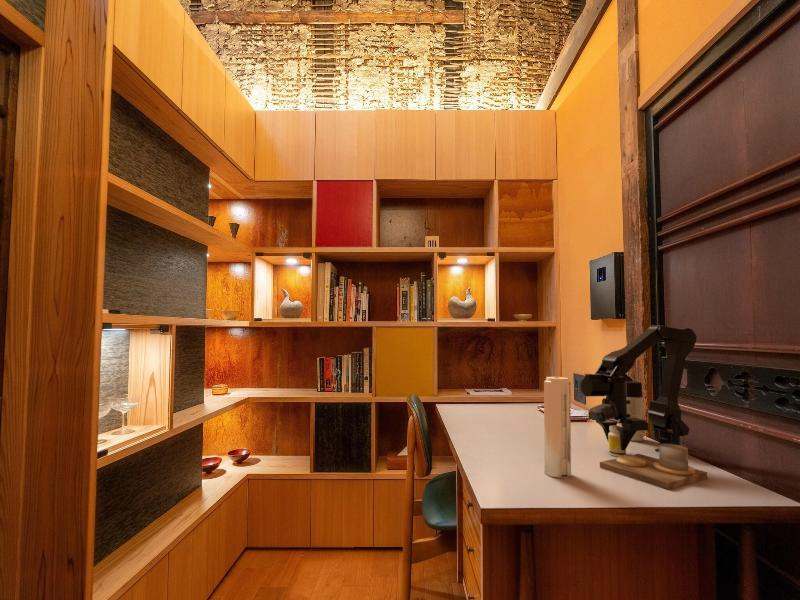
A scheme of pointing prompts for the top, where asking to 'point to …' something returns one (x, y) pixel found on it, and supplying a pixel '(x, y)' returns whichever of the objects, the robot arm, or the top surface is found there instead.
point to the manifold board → (657, 467)
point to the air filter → (557, 427)
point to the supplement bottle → (615, 442)
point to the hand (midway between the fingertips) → (617, 447)
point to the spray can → (635, 405)
